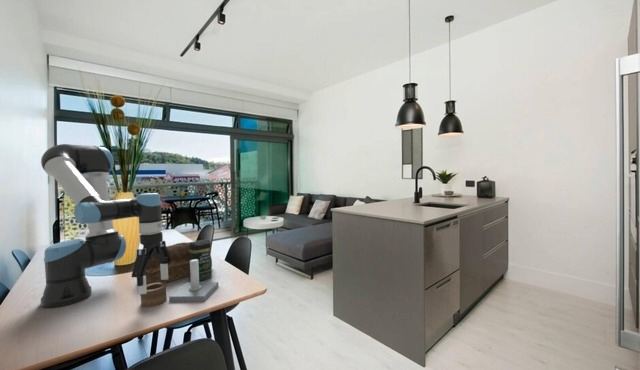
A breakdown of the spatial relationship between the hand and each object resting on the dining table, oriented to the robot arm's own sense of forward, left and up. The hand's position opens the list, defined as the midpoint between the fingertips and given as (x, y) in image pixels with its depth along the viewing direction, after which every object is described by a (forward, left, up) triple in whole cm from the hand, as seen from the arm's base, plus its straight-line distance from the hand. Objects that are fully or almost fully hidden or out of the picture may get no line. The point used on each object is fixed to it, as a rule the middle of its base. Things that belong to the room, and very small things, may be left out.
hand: (154, 286), depth 105 cm
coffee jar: (+8, +23, -7) cm, 25 cm away
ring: (0, 0, -6) cm, 6 cm away
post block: (+13, +7, -6) cm, 16 cm away
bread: (-7, +29, -7) cm, 31 cm away
